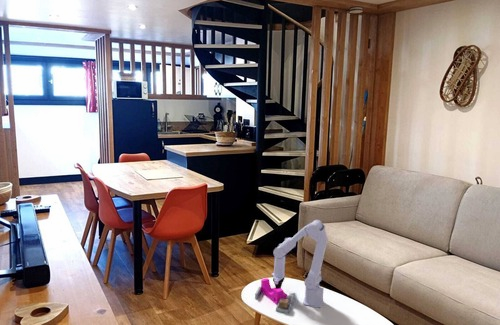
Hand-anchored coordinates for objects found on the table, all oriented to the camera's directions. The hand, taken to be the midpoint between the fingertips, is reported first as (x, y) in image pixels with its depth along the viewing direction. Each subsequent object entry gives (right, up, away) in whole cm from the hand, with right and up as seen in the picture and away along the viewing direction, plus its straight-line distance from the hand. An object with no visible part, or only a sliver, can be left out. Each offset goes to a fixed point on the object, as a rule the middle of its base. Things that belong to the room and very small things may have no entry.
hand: (278, 290), depth 216 cm
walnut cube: (+2, -4, -16) cm, 17 cm away
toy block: (-3, -2, -5) cm, 6 cm away
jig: (-3, -3, -10) cm, 11 cm away
